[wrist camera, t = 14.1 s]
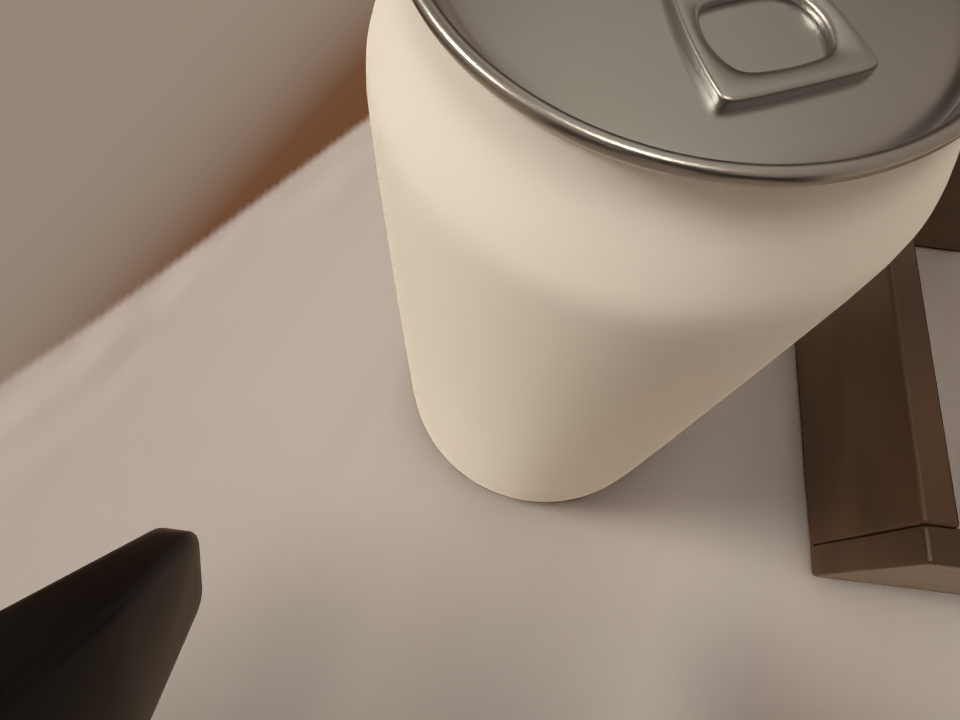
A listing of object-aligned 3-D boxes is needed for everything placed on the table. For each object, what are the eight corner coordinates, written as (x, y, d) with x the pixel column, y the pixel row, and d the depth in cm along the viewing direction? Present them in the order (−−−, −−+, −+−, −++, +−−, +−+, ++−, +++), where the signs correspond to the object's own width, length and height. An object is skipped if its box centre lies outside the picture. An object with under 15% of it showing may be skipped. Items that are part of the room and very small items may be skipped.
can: (605, 247, 18) (849, -329, 7) (702, 460, 16) (1276, 113, 5) (384, 306, 17) (266, -257, 6) (455, 542, 15) (475, 340, 4)
